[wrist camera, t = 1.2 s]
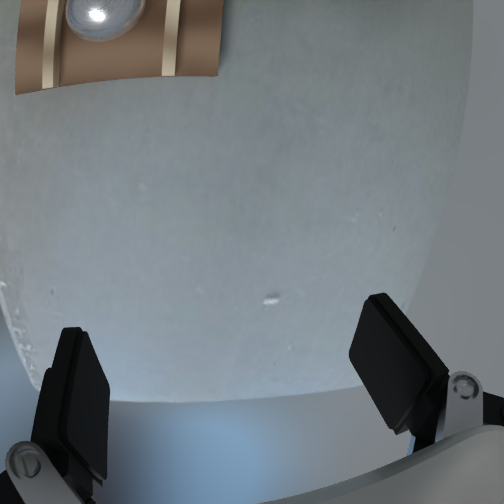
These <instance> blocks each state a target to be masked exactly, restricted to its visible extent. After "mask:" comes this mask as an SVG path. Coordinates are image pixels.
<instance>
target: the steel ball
mask: <svg viewBox="0 0 504 504" xmlns="http://www.w3.org/2000/svg"><path fill="white" fill-rule="evenodd" d="M145 4H146V0H68V2H67V5H66V19H67V23H68V25H69V27H70V28H71V30H72V31H73V32H74V33H75V34H76V35H77V36H79V37H80V38H82V39H84V40H87V41H92V42H105V41H110V40H113V39H116V38H118V37H120V36H122V35H124V34H125V33H127V32H128V31H129V30H131V29H132V28H133V27H134V26H135V25H136V23H137V22H138V21H139V19H140V18H141V16H142V14H143V12H144V9H145Z"/></svg>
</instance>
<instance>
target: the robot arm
mask: <svg viewBox="0 0 504 504" xmlns="http://www.w3.org/2000/svg"><path fill="white" fill-rule="evenodd" d="M349 359H350V361H351V363H352V365H353V366H354V368H355V370H356V372H357V373H358V375H359V377H360V378H361V380H362V382H363V384H364V385H365V387H366V389H367V391H368V392H369V394H370V396H371V398H372V399H373V401H374V403H375V405H376V407H377V408H378V410H379V412H380V414H381V415H382V417H383V419H384V421H385V422H386V424H387V426H388V427H389V428H390V429H393V430H394V432H395V434H396V435H398V434H400V433H402V432H405V431H407V430H408V429H409V430H410V432H411V434H412V435H411V439H410V444H409V448H408V453H407V456H406V457H404V458H402V459H400V460H397V461H395V462H393V463H390V464H388V465H385V466H383V467H381V468H378V469H376V470H373V471H371V472H368V473H365V474H363V475H360V476H357V477H354V478H351V479H349V480H346V481H343V482H340V483H337V484H333V485H330V486H327V487H324V488H320V489H317V490H314V491H310V492H307V493H303V494H299V495H295V496H291V497H287V498H283V499H278V500H274V501H269V502H264V503H259V504H504V398H503V397H499V396H496V395H493V394H489V393H486V392H483V390H482V386H481V384H480V382H479V380H478V379H477V378H476V377H475V376H473V375H472V374H470V373H468V372H464V371H459V372H455V373H453V374H452V375H451V376H449V375H448V372H449V370H448V368H447V367H446V366H445V364H444V363H443V362H442V361H441V359H440V358H439V357H438V355H437V354H436V353H435V352H434V350H433V349H432V348H431V346H430V345H429V344H428V343H427V341H426V340H425V339H424V338H423V337H422V335H421V334H420V333H419V332H418V330H417V329H416V328H415V327H414V325H413V324H412V323H411V322H410V321H409V320H408V318H407V317H406V316H405V315H404V313H403V312H402V311H401V310H400V309H399V307H398V306H397V305H396V304H395V303H394V302H393V300H392V299H391V298H390V297H389V296H388V295H387V294H386V293H379V294H374V295H370V296H369V297H368V299H367V300H366V301H365V302H364V305H363V309H362V312H361V315H360V319H359V322H358V325H357V328H356V332H355V335H354V338H353V341H352V344H351V347H350V350H349ZM109 400H110V387H109V383H108V381H107V379H106V376H105V374H104V372H103V370H102V367H101V365H100V363H99V360H98V358H97V355H96V353H95V351H94V348H93V346H92V343H91V340H90V338H89V335H88V333H87V332H86V331H82V329H81V328H80V327H68V328H63V330H62V332H61V335H60V339H59V342H58V346H57V349H56V353H55V357H54V360H53V364H52V368H48V369H47V370H46V372H45V374H44V378H43V382H42V386H41V391H40V395H39V399H38V404H37V409H36V414H35V419H34V425H33V430H32V435H31V441H21V442H18V443H16V444H14V445H13V446H12V447H11V448H10V449H9V451H8V452H7V455H6V459H5V466H6V470H5V471H3V472H2V473H1V474H0V504H97V502H96V501H95V500H94V499H93V498H92V495H93V487H102V480H106V478H107V440H108V437H107V436H108V415H109Z"/></svg>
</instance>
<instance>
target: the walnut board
mask: <svg viewBox="0 0 504 504" xmlns="http://www.w3.org/2000/svg"><path fill="white" fill-rule="evenodd" d="M67 2H68V0H22V1H21V8H20V16H19V25H18V35H17V49H16V75H15V95H18V94H24V93H30V92H34V91H39V90H45V89H50V88H56V87H61V86H68V85H74V84H81V83H89V82H97V81H106V80H117V79H129V78H144V77H170V76H211V77H214V76H218V66H219V52H220V39H221V27H222V15H223V5H224V0H146V4H145V9H144V12H143V14H142V16H141V18H140V19H139V21H138V22H137V23H136V25H135V26H134V27H133V28H132V29H131V30H129V31H128V32H127V33H125V34H124V35H122V36H120V37H118V38H116V39H113V40H110V41H105V42H92V41H87V40H84V39H82V38H80V37H79V36H77V35H76V34H75V33H74V32H73V31H72V30H71V28H70V27H69V25H68V23H67V19H66V5H67Z"/></svg>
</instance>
